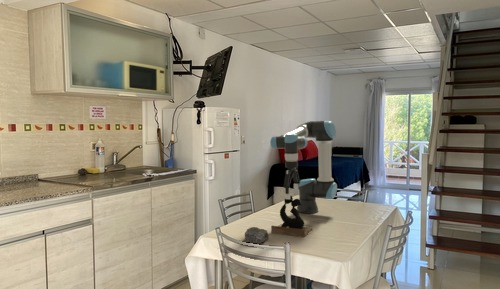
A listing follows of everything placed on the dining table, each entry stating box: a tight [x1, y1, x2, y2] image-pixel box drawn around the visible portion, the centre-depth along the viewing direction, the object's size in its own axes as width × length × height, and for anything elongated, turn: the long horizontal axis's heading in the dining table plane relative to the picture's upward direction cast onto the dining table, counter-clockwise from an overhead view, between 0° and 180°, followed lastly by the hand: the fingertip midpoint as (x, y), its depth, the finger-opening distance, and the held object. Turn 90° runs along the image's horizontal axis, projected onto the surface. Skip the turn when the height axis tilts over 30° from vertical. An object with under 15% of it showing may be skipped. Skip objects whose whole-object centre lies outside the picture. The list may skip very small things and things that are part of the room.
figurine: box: [279, 194, 305, 229], centre depth 216 cm, size 14×9×20 cm, turn 76°
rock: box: [244, 226, 270, 245], centre depth 201 cm, size 13×6×15 cm
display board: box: [270, 223, 313, 238], centre depth 216 cm, size 15×20×4 cm
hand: (292, 196), depth 216 cm, fingers open, 13 cm apart
